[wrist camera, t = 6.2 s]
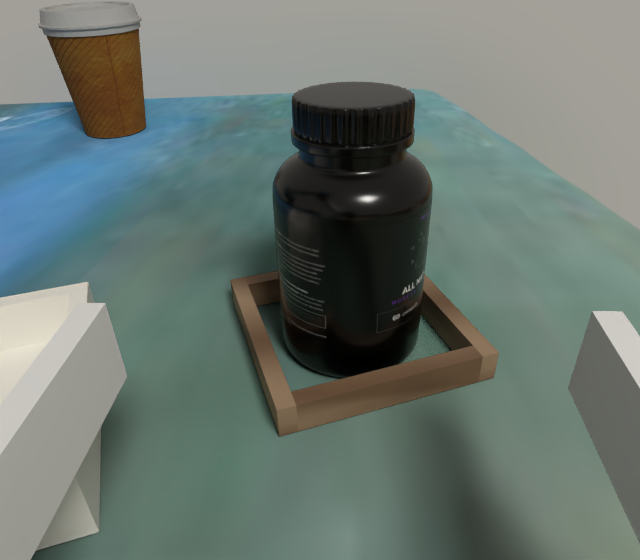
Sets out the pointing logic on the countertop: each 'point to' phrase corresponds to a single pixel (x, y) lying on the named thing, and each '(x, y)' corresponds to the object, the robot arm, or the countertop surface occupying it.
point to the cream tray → (10, 365)
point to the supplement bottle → (351, 228)
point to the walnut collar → (368, 388)
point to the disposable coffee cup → (99, 63)
